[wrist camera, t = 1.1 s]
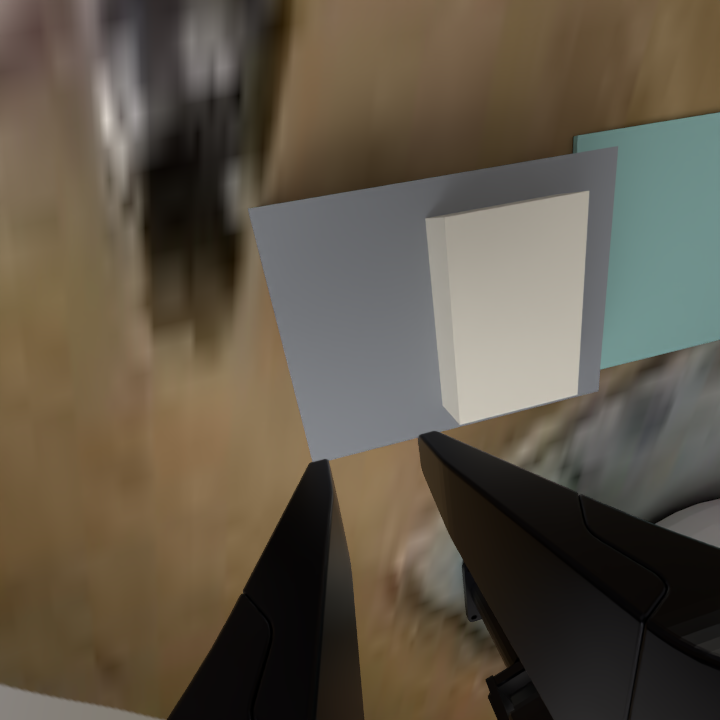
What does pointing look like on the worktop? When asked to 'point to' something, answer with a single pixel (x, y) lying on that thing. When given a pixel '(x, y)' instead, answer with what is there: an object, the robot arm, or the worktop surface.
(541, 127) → the worktop surface
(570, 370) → the block
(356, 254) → the deck
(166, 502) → the worktop surface
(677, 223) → the mat
